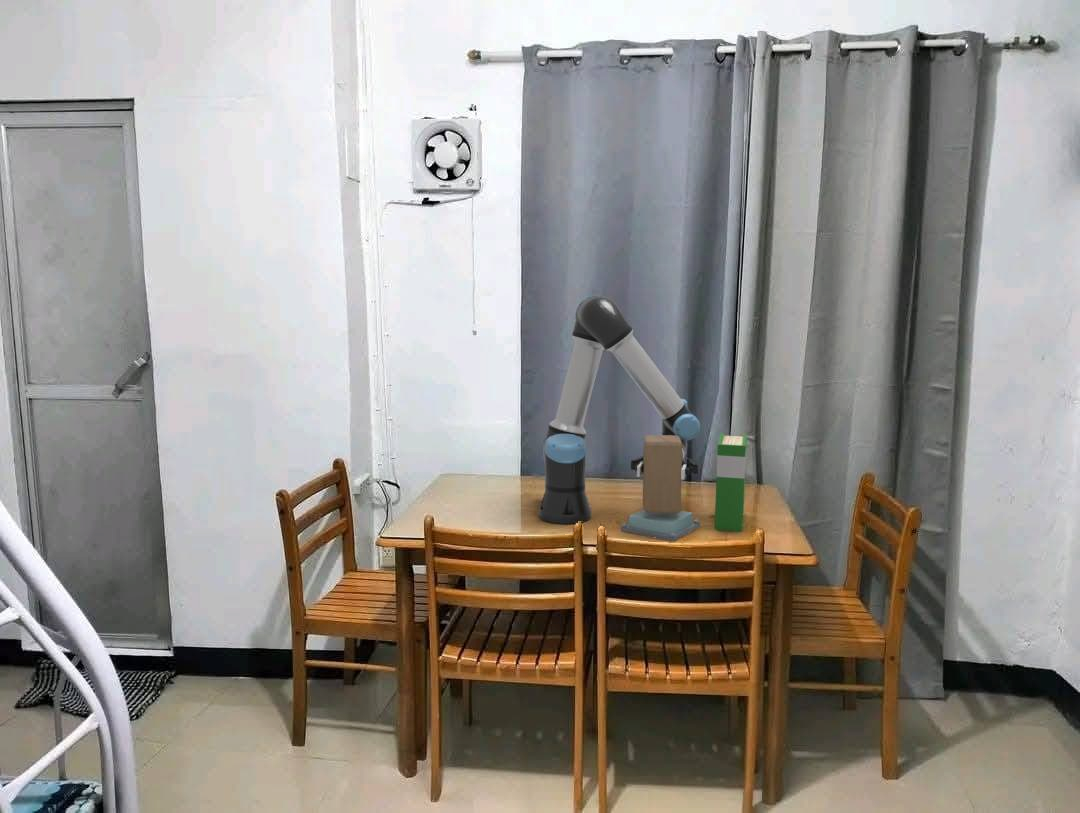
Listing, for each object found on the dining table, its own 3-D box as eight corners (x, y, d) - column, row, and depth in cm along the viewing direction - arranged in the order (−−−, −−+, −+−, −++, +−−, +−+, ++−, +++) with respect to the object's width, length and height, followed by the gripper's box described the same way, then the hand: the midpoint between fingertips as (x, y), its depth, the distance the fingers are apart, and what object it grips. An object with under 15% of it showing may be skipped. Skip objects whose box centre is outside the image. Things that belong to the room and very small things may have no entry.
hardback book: (717, 511, 238) (720, 432, 234) (743, 513, 236) (746, 434, 232) (714, 529, 221) (717, 444, 217) (742, 531, 219) (745, 446, 215)
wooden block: (678, 504, 225) (680, 434, 221) (680, 514, 215) (682, 441, 212) (642, 503, 226) (643, 434, 222) (643, 513, 216) (644, 441, 213)
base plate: (621, 530, 219) (621, 516, 219) (648, 517, 232) (649, 503, 231) (673, 542, 210) (674, 526, 209) (699, 527, 223) (700, 512, 222)
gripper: (710, 471, 233) (704, 489, 212) (630, 466, 239) (616, 483, 219) (711, 446, 232) (705, 462, 211) (630, 441, 238) (617, 457, 217)
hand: (660, 473), depth 215 cm, fingers closed on wooden block, 11 cm apart
